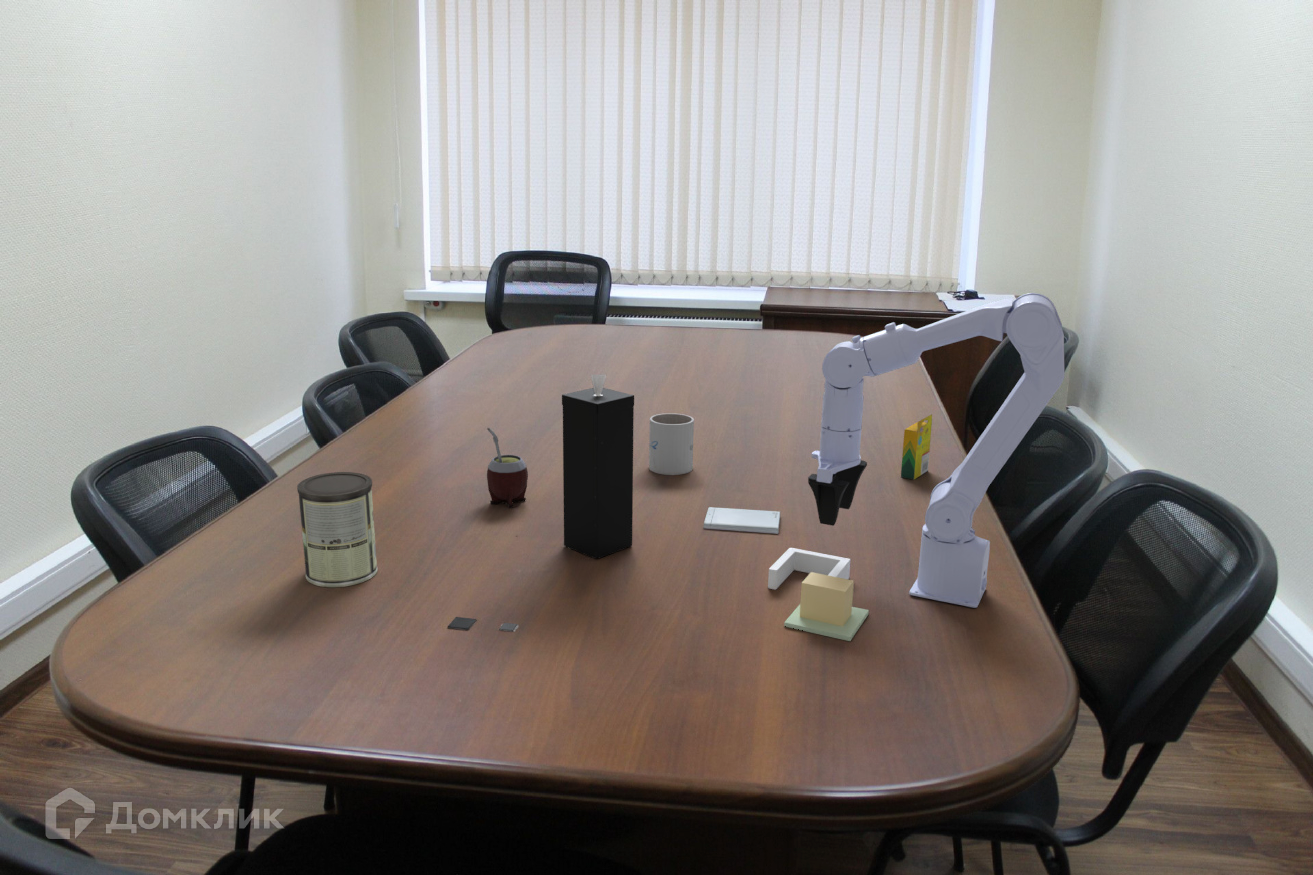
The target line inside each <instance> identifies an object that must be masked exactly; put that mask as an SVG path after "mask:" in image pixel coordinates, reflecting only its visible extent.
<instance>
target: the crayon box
mask: <svg viewBox="0 0 1313 875" xmlns="http://www.w3.org/2000/svg"><path fill="white" fill-rule="evenodd" d="M925 421H927V422H925ZM932 421H933V414H930V415H928V416H926V417H924V418H922V419H921V420H919V421H917V422H915V423H913V424H912V425H909V426H908V427H907V428H905V429H904V430H903V432H904V434H903V440H902V441H903V443H902V456H901V470H900V477H901V478H903V479H909V480H916V479H917V478H919V477H921V476H922V475H923V474H925V473H927V472H929V463H930V462H929V461H930V452H931V451H930V450H931V439H932V438H931V437H932V436H931V435H932V425H933V424H932V423H933V422H932Z"/></svg>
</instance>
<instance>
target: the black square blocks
mask: <svg viewBox="0 0 1313 875" xmlns="http://www.w3.org/2000/svg"><path fill="white" fill-rule="evenodd" d="M477 620H478V619H477V618H470V617H462V616H461V617H460V616H455V617H454V618H453V620H452V621H451V622H450V623H449V624H448V625H447V629H453V630H454V629H455V630H463V631H470V630H471V629H472V627H473V626H474V625H475V624H476V622H478V621H477ZM519 627H520V626H519V624H517V623H511V622H503V623H502V624H501V625H500V627H499V628H498V630H499V631H503V632H511V633H512V632H516V630H517V629H518V628H519Z"/></svg>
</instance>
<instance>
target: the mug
mask: <svg viewBox="0 0 1313 875" xmlns="http://www.w3.org/2000/svg"><path fill="white" fill-rule="evenodd" d="M694 425H695V419H694V417H693V416H690V415H687V414H683V413H675V412H673V413H672V412H671V413H669V412H668V413H665V412H664V413H659V414H658V413H657V414H655V415H651V416H650V417H649V438H648V439H649V443H648V445H649V446H648V447H649V448H648V450H649V452H648V453H649V454H648V455H649V456H648V469H649V470H650V471H651V472H653V473H656V474H660V475H666V476H668V475H669V476H675V475H676V476H678V475H683V474H684V475H685V474H688V473H690V472H692V470H693V465H694V431H695V429H694V427H695V426H694Z"/></svg>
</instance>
